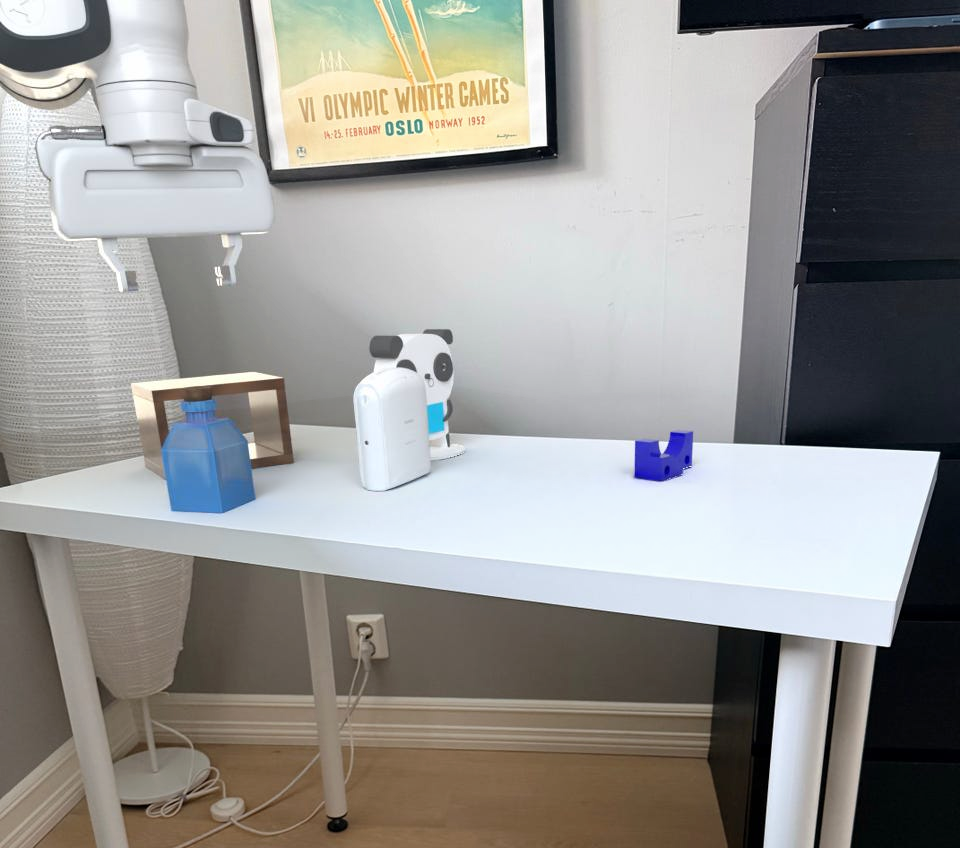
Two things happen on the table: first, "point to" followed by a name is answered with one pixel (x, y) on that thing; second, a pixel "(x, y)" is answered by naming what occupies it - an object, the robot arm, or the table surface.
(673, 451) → the cable holder
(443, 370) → the panda figurine
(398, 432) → the photo printer
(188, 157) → the robot arm
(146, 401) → the shelf rack
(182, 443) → the perfume bottle
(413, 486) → the table surface
